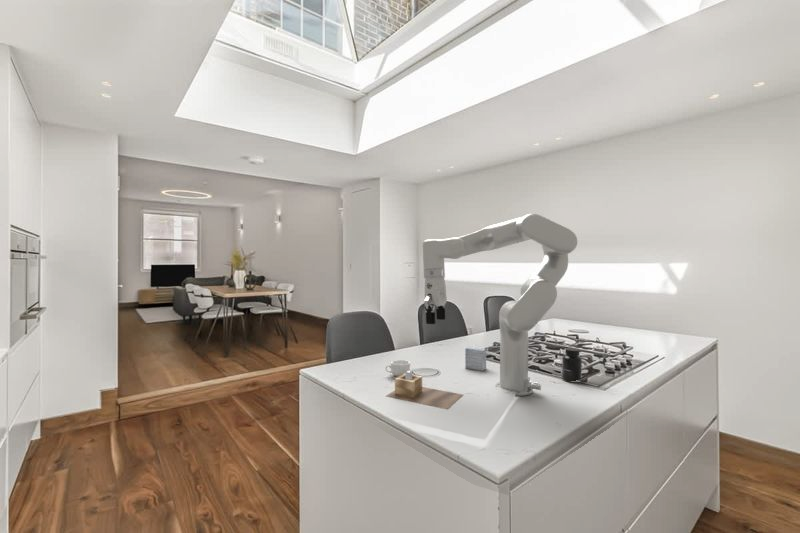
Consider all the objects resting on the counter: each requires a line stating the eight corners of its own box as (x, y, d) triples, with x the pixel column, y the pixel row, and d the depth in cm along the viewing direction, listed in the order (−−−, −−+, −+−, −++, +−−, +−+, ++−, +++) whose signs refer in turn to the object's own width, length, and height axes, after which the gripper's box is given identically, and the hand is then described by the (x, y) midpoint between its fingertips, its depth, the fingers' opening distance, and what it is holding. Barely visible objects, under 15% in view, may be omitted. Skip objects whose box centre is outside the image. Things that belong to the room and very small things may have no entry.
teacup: (407, 372, 154) (407, 359, 154) (412, 377, 146) (412, 364, 146) (383, 374, 151) (383, 360, 151) (387, 379, 144) (387, 366, 144)
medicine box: (486, 368, 159) (486, 348, 159) (482, 371, 155) (482, 350, 155) (469, 365, 163) (469, 346, 163) (465, 368, 159) (465, 348, 159)
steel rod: (413, 391, 127) (413, 370, 126) (410, 393, 124) (410, 372, 124) (407, 390, 128) (407, 369, 128) (403, 392, 126) (403, 371, 126)
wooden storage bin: (422, 390, 127) (422, 376, 127) (413, 397, 121) (413, 382, 121) (404, 387, 131) (404, 373, 131) (395, 393, 125) (395, 378, 125)
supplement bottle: (562, 381, 142) (562, 350, 141) (561, 376, 148) (562, 346, 148) (582, 384, 139) (582, 352, 139) (580, 378, 145) (581, 348, 145)
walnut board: (463, 399, 124) (463, 394, 124) (447, 414, 112) (447, 409, 112) (405, 387, 135) (405, 383, 135) (385, 400, 122) (385, 396, 122)
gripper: (434, 275, 124) (436, 326, 125) (452, 272, 140) (454, 318, 140) (414, 275, 128) (416, 325, 128) (433, 273, 143) (435, 317, 143)
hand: (436, 321), depth 134 cm, fingers open, 9 cm apart
